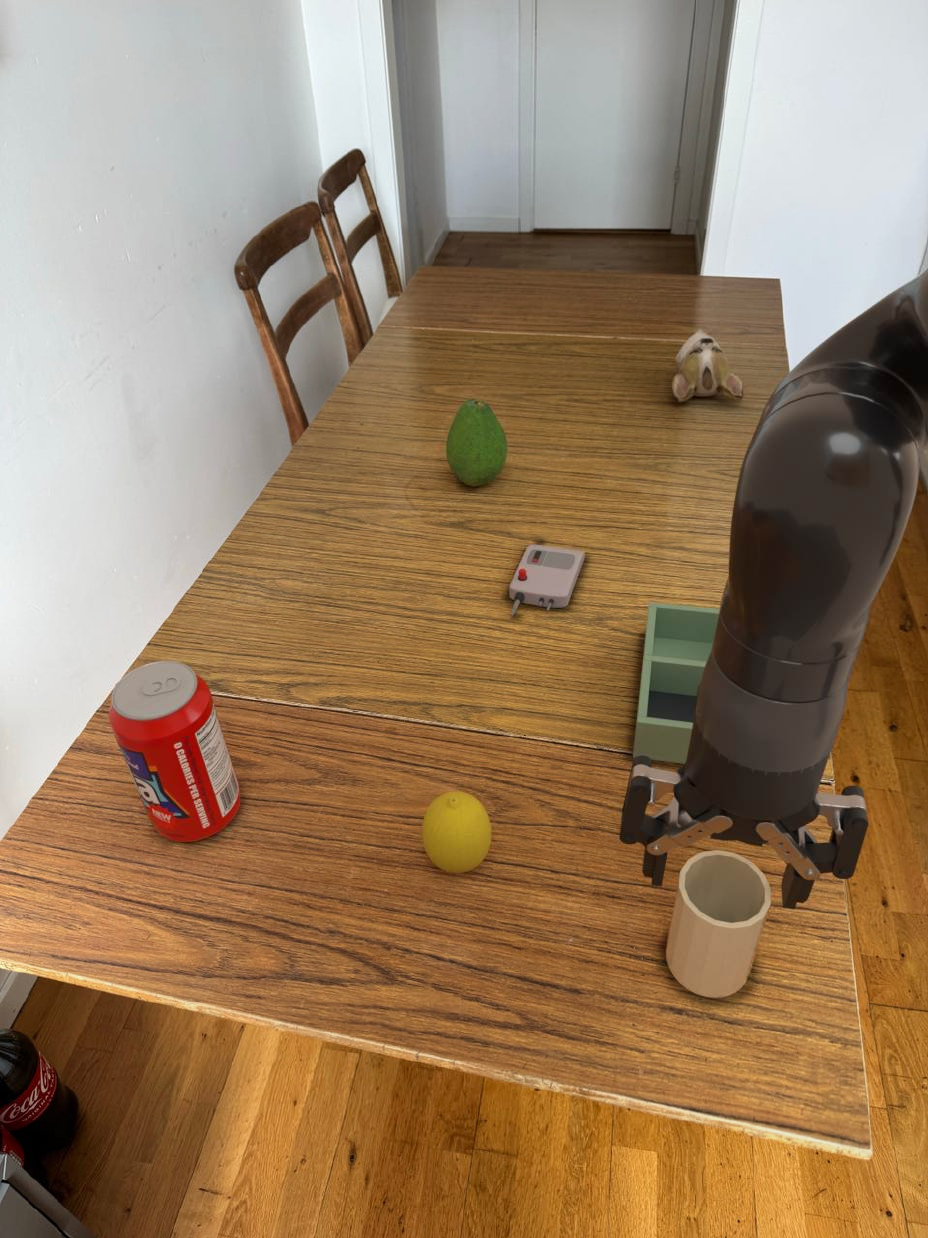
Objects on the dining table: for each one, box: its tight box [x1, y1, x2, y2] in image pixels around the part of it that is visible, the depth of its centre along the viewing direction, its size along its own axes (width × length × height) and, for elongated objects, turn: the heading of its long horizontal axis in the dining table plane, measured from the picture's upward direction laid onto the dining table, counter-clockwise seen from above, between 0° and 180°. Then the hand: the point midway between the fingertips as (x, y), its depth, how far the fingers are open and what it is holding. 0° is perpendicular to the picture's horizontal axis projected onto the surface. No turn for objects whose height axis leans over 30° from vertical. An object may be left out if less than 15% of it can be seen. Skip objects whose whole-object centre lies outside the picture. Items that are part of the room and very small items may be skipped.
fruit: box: [445, 398, 508, 488], centre depth 116 cm, size 8×8×12 cm
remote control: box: [508, 543, 586, 617], centre depth 101 cm, size 7×16×3 cm, turn 162°
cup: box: [665, 849, 772, 999], centre depth 63 cm, size 6×6×9 cm
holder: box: [632, 601, 720, 765], centre depth 85 cm, size 17×9×5 cm, turn 167°
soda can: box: [108, 660, 242, 843], centre depth 74 cm, size 8×8×15 cm
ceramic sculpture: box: [670, 328, 744, 403], centre depth 136 cm, size 11×9×15 cm
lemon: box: [421, 790, 493, 874], centre depth 70 cm, size 6×6×8 cm
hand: (721, 886), depth 60 cm, fingers open, 8 cm apart
